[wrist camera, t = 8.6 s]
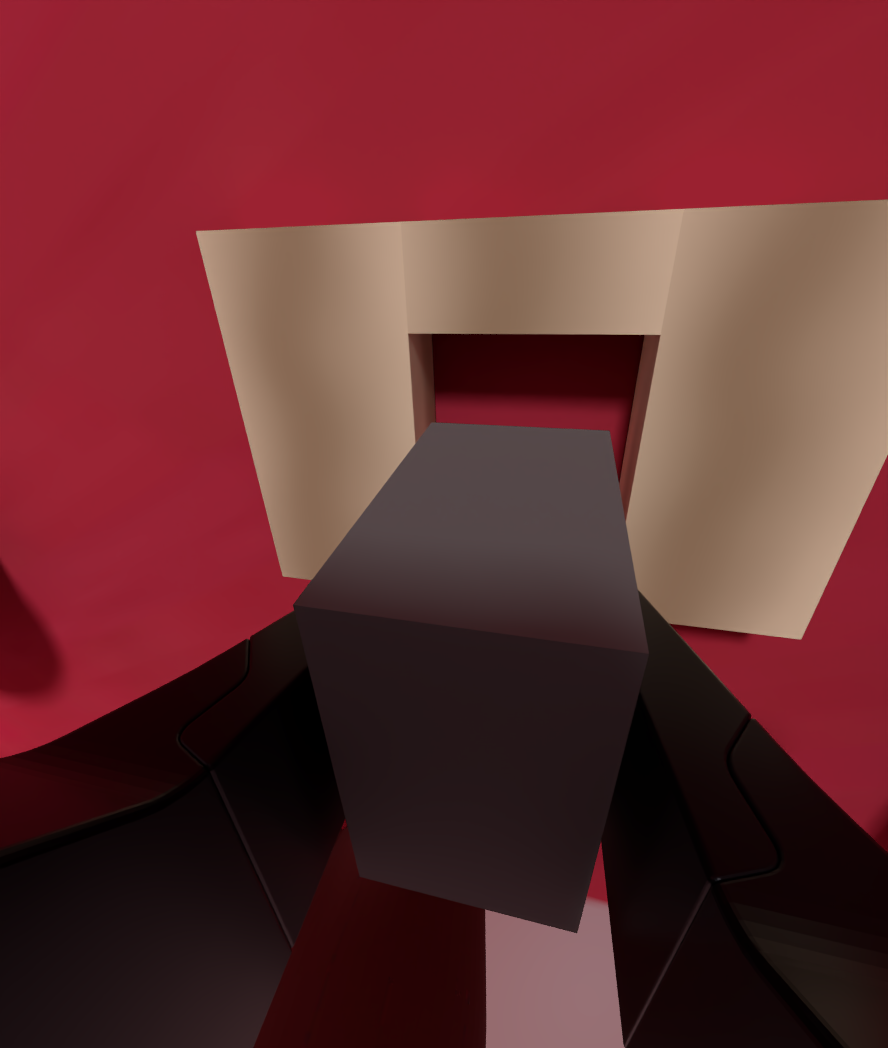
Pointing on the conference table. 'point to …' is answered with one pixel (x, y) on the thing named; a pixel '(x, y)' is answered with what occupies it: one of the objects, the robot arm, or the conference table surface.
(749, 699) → the conference table surface
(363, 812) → the grey block
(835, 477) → the notch board
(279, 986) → the mug
